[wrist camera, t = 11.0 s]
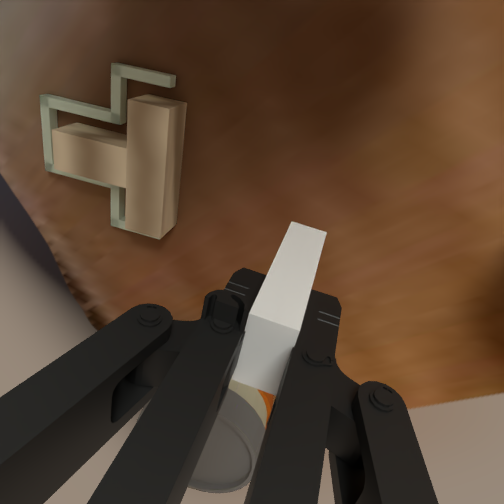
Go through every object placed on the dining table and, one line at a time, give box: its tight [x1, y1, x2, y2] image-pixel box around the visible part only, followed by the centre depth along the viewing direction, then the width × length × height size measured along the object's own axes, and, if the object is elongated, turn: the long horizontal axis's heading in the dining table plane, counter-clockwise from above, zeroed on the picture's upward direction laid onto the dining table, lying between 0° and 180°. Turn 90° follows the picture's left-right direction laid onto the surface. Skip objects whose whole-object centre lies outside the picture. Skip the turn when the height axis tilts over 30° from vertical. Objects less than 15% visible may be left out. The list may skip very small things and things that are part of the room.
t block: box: [52, 94, 187, 239], centre depth 43 cm, size 12×13×4 cm
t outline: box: [39, 62, 176, 240], centre depth 44 cm, size 14×17×1 cm
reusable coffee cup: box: [137, 375, 274, 493], centre depth 46 cm, size 13×13×15 cm
